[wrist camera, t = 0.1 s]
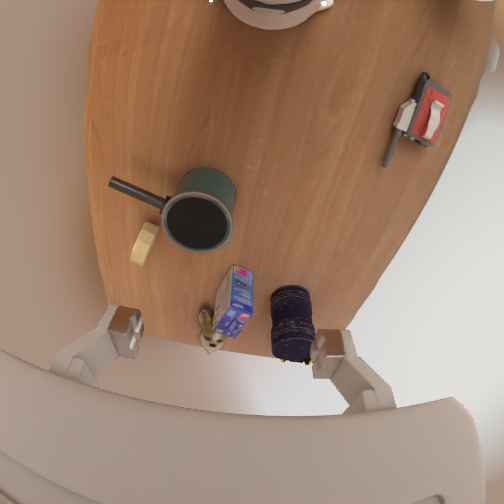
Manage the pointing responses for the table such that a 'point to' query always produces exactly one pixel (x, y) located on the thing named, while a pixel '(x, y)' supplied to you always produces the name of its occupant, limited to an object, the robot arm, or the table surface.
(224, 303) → the ink cartridge box
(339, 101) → the table surface
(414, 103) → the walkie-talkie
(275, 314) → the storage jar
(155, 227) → the tape roll
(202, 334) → the ceramic sculpture
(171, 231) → the saucepan
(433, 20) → the table surface
